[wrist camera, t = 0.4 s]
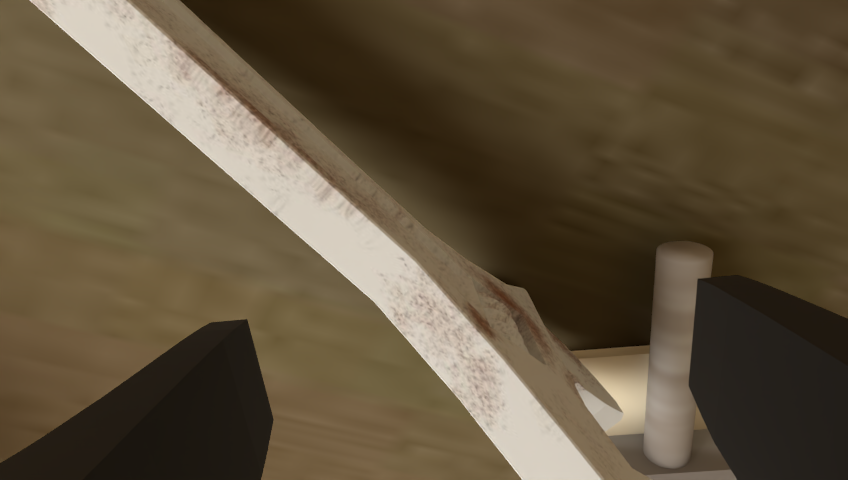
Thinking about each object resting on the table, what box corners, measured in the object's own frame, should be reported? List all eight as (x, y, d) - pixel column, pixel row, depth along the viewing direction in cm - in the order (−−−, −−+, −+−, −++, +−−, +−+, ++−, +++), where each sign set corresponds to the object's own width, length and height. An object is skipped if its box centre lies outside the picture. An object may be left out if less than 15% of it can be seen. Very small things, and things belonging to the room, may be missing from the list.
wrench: (-65, -270, 17) (642, 394, 22) (-93, -212, 17) (603, 423, 22) (-514, -519, 9) (728, 588, 14) (-539, -401, 10) (666, 625, 15)
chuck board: (964, 570, 26) (1016, 627, 24) (527, 595, 27) (536, 652, 24) (1111, 194, 19) (1206, 225, 17) (514, 245, 20) (525, 280, 17)
